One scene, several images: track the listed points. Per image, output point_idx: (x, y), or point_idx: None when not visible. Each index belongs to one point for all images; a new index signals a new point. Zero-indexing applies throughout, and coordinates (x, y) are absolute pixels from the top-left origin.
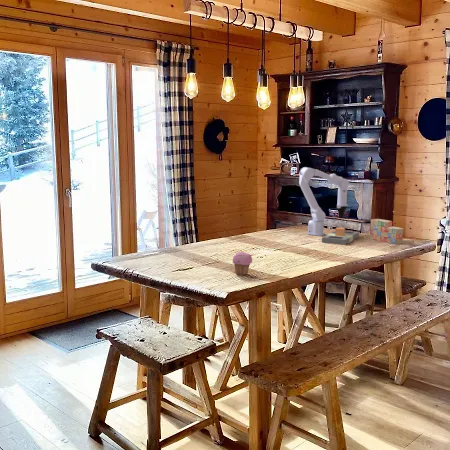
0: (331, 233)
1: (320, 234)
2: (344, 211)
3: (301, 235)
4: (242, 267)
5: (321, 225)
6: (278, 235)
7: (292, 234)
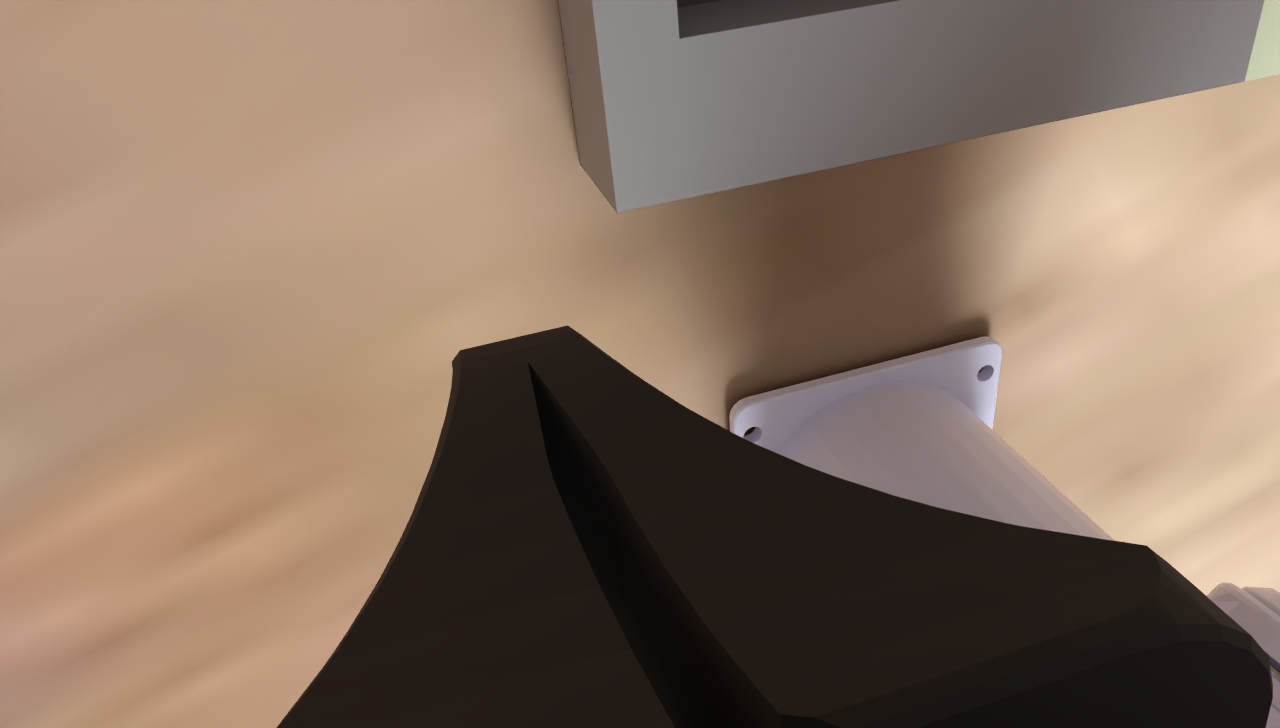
0: (1271, 49)
1: (947, 392)
2: (584, 553)
3: None
4: None
5: (1080, 515)
6: None
7: None
